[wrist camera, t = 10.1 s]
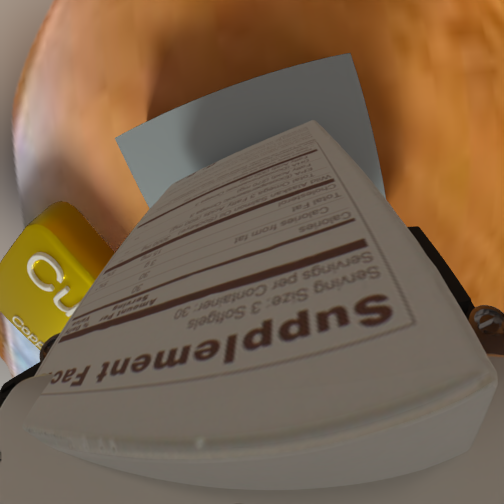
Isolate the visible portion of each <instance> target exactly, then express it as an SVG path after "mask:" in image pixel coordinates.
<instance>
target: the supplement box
mask: <svg viewBox="0 0 504 504" xmlns="http://www.w3.org/2000/svg"><path fill="white" fill-rule="evenodd" d="M42 374H53V375H54V376H53V378H52V379H51V381H50V382H49V384H48V385H47V386H46V388H45V389H44V391H43V392H42V393H41V395H40V396H39V398H38V399H37V400H36V402H35V403H34V405H33V407H32V408H31V410H30V411H29V413H28V415H27V416H26V418H25V419H24V421H23V425H22V427H23V429H24V430H25V431H26V432H28V433H29V434H31V435H32V436H34V437H35V438H37V439H38V440H40V441H41V442H42V443H44V444H46V445H48V446H50V447H52V448H54V449H56V450H58V451H61V452H64V453H66V454H69V455H72V456H75V457H78V458H80V459H83V460H86V461H89V462H93V463H96V464H99V465H102V466H106V467H109V468H113V469H117V470H120V471H124V472H128V473H132V474H137V475H141V476H145V477H150V478H155V479H160V480H165V481H171V482H176V483H183V484H189V485H197V486H205V487H214V488H225V489H243V490H299V489H316V488H328V487H337V486H346V485H354V484H361V483H368V482H373V481H378V480H383V479H388V478H392V477H397V476H401V475H405V474H409V473H413V472H416V471H420V470H423V469H426V468H429V467H432V466H434V465H437V464H439V463H442V462H444V461H447V460H449V459H452V458H454V457H456V456H459V455H461V454H463V453H465V452H467V451H468V450H469V449H470V448H471V447H472V445H473V443H474V441H475V439H476V436H477V434H478V432H479V430H480V428H481V426H482V423H483V421H484V418H485V416H486V413H487V411H488V409H489V406H490V404H491V401H492V399H493V396H494V394H495V391H496V388H497V386H498V378H497V372H496V370H495V368H494V366H493V365H492V363H491V361H490V360H489V358H488V356H487V354H486V352H485V351H484V349H483V347H482V345H481V343H480V341H479V339H478V337H477V336H476V334H475V332H474V330H473V328H472V327H471V325H470V323H469V321H468V320H467V318H466V316H465V314H464V313H463V311H462V309H461V308H460V306H459V304H458V303H457V301H456V299H455V298H454V296H453V294H452V293H451V291H450V290H449V288H448V286H447V285H446V283H445V281H444V279H443V278H442V276H441V274H440V273H439V271H438V270H437V268H436V266H435V265H434V264H433V263H432V261H431V260H430V259H429V257H428V256H427V255H426V254H425V252H424V250H423V249H422V247H421V246H420V244H419V243H418V241H417V240H416V238H415V237H414V236H413V234H412V233H411V232H410V230H409V229H408V228H407V226H406V225H405V224H404V223H403V221H402V220H401V219H400V218H399V216H398V215H397V214H396V212H395V211H394V210H393V208H392V207H391V205H390V204H389V203H388V201H387V200H386V199H385V198H384V196H383V195H382V194H381V192H380V191H379V190H378V189H377V187H376V186H375V185H374V184H373V182H372V181H371V180H370V179H369V178H368V176H367V175H366V174H365V173H364V172H363V170H362V169H361V168H360V167H359V166H358V165H357V164H356V162H355V161H354V160H353V159H352V158H351V157H350V156H349V155H348V154H347V152H346V151H345V150H344V149H343V148H342V147H341V146H340V145H339V144H338V143H337V142H336V141H335V140H334V139H333V138H332V136H331V135H330V134H329V133H328V132H327V131H326V130H325V129H324V128H323V127H322V126H320V125H319V123H318V122H316V121H315V120H311V121H309V122H306V123H304V124H302V125H299V126H297V127H294V128H292V129H290V130H287V131H285V132H282V133H280V134H278V135H275V136H273V137H270V138H268V139H266V140H263V141H261V142H259V143H257V144H254V145H252V146H250V147H247V148H245V149H243V150H241V151H239V152H236V153H234V154H232V155H230V156H228V157H226V158H223V159H221V160H219V161H217V162H215V163H213V164H211V165H209V166H207V167H204V168H202V169H200V170H198V171H196V172H194V173H192V174H190V175H188V176H186V177H184V178H183V179H181V180H179V181H177V182H175V183H173V184H172V185H171V186H170V187H169V188H168V189H167V190H166V191H165V192H164V194H163V195H162V196H161V197H160V198H159V199H158V201H157V202H156V203H155V204H154V205H153V206H152V207H151V208H150V209H149V211H148V212H147V213H146V214H145V215H144V217H143V218H142V219H141V220H140V222H139V223H138V224H137V225H136V227H135V228H134V229H133V230H132V232H131V233H130V234H129V236H128V237H127V238H126V239H125V241H124V242H123V243H122V245H121V246H120V247H119V249H118V250H117V251H116V253H115V254H114V255H113V256H112V258H111V259H110V261H109V262H108V263H107V265H106V266H105V268H104V269H103V270H102V272H101V273H100V275H99V276H98V277H97V279H96V280H95V282H94V283H93V285H92V286H91V287H90V289H89V290H88V292H87V293H86V295H85V296H84V298H83V299H82V301H81V302H80V303H79V305H78V306H77V308H76V310H75V311H74V313H73V314H72V316H71V317H70V319H69V320H68V322H67V323H66V325H65V327H64V328H63V330H62V331H61V333H60V334H59V336H58V338H57V339H56V341H55V342H54V344H53V346H52V347H51V349H50V351H49V352H48V354H47V356H46V357H45V359H44V360H43V362H42V364H41V365H40V367H39V369H38V371H37V372H36V374H35V376H38V375H42Z"/></svg>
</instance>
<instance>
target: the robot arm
mask: <svg viewBox="0 0 504 504" xmlns="http://www.w3.org/2000/svg"><path fill="white" fill-rule="evenodd" d="M407 228H408V229H409V230H410V232H411V233H412V234H413V236H414V237H415V238H416V240H417V241H418V243H419V244H420V246H421V247H422V249H423V250H424V252H425V254H426V255H427V256H428V257H429V259H430V260H431V261H432V263H433V264H434V265H435V266H436V268H437V270H438V271H439V273H440V274H441V276H442V278H443V279H444V281H445V283H446V285H447V286H448V288H449V290H450V291H451V293H452V294H453V296H454V298H455V299H456V301H457V303H458V304H459V306H460V308H461V309H462V311H463V313H464V314H465V316H466V318H467V320H468V321H469V323H470V325H471V327H472V328H473V330H474V332H475V334H476V336H477V337H478V339H479V341H480V343H481V345H482V347H483V349H484V351H485V352H486V354H487V356H488V358H489V360H490V361H491V363H492V365H493V366H494V368H495V370H496V372H497V378H498V386H497V388H496V391H495V394H494V396H493V399H492V401H491V404H490V406H489V409H488V411H487V413H486V416H485V418H484V421H483V423H482V426H481V428H480V430H479V432H478V434H477V436H476V439H475V441H474V443H473V445H472V447H471V448H470V449H469V450H468V451H467V452H465V453H463V454H461V455H459V456H456V457H454V458H452V459H449V460H447V461H444V462H442V463H439V464H437V465H434V466H432V467H429V468H426V469H423V470H420V471H416V472H413V473H409V474H405V475H401V476H397V477H392V478H388V479H383V480H378V481H373V482H368V483H361V484H354V485H346V486H337V487H328V488H316V489H299V490H243V489H225V488H214V487H205V486H197V485H189V484H183V483H176V482H171V481H165V480H160V479H155V478H150V477H145V476H141V475H137V474H132V473H128V472H124V471H120V470H117V469H113V468H109V467H106V466H102V465H99V464H96V463H93V462H89V461H86V460H83V459H80V458H78V457H75V456H72V455H69V454H66V453H64V452H61V451H58V450H56V449H54V448H52V447H50V446H48V445H46V444H44V443H42V442H41V441H40V440H38V439H37V438H35V437H34V436H32V435H31V434H29V433H28V432H26V431H25V430H24V429H23V427H22V425H23V421H24V419H25V418H26V416H27V415H28V413H29V411H30V410H31V408H32V407H33V405H34V403H35V402H36V400H37V399H38V398H39V396H40V395H41V393H42V392H43V391H44V389H45V388H46V386H47V385H48V384H49V382H50V381H51V379H52V378H53V376H54V375H53V374H42V375H38V376H35V374H36V372H37V371H38V369H39V367H40V365H41V364H42V362H43V360H44V359H45V357H46V356H47V354H48V352H49V351H50V349H51V347H52V346H53V344H54V342H55V341H56V339H57V338H58V336H59V334H60V333H58V334H56V335H54V336H52V337H50V338H49V339H48V340H47V341H46V342H45V343H44V345H43V346H42V348H41V350H40V362H39V363H38V364H36V365H34V366H33V367H31V368H29V369H27V370H26V371H24V372H22V373H21V374H19V375H17V376H16V377H14V378H12V379H11V380H9V381H8V382H6V383H5V384H4V385H3V386H2V388H1V390H0V504H504V313H503V312H501V311H500V310H499V309H497V308H495V307H492V306H488V305H481V306H478V307H474V305H473V304H472V302H471V299H470V297H469V296H468V294H467V293H466V291H465V290H464V288H463V287H462V285H461V284H460V282H459V281H458V279H457V278H456V276H455V275H454V273H453V272H452V271H451V269H450V268H449V266H448V265H447V264H446V262H445V261H444V259H443V258H442V257H441V255H440V254H439V253H438V251H437V250H436V248H435V247H434V246H433V244H432V243H431V242H430V241H429V239H428V238H427V237H426V235H425V234H424V233H423V231H422V230H421V229H420V228H419V227H417V226H416V227H407Z"/></svg>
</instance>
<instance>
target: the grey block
mask: <svg viewBox="0 0 504 504" xmlns="http://www.w3.org/2000/svg"><path fill="white" fill-rule="evenodd" d="M311 120H315V121H316V122H318V123H319V125H320V126H322V127H323V128H324V129H325V130H326V131H327V132H328V133H329V134H330V135H331V136H332V138H333V139H334V140H335V141H336V142H337V143H338V144H339V145H340V146H341V147H342V148H343V149H344V150H345V151H346V152H347V154H348V155H349V156H350V157H351V158H352V159H353V160H354V161H355V162H356V164H357V165H358V166H359V167H360V168H361V169H362V170H363V172H364V173H365V174H366V175H367V176H368V178H369V179H370V180H371V181H372V182H373V184H374V185H375V186H376V187H377V189H378V190H379V191H380V192H381V194H382V195H383V196H384V198H385V199H386V196H385V190H384V184H383V179H382V174H381V168H380V163H379V158H378V154H377V149H376V144H375V140H374V136H373V131H372V127H371V123H370V119H369V115H368V111H367V107H366V104H365V100H364V96H363V93H362V89H361V86H360V82H359V79H358V76H357V72H356V69H355V66H354V63H353V60H352V57H351V54H350V53H347V54H342V55H337V56H332V57H327V58H323V59H319V60H315V61H311V62H307V63H303V64H299V65H296V66H292V67H288V68H285V69H281V70H278V71H275V72H271V73H268V74H265V75H262V76H259V77H256V78H253V79H250V80H247V81H244V82H241V83H238V84H235V85H232V86H230V87H227V88H224V89H221V90H219V91H216V92H214V93H211V94H208V95H206V96H203V97H201V98H198V99H196V100H194V101H191V102H189V103H186V104H184V105H182V106H179V107H177V108H175V109H173V110H170V111H168V112H166V113H164V114H162V115H159V116H157V117H155V118H153V119H151V120H149V121H147V122H145V123H143V124H141V125H139V126H137V127H135V128H133V129H131V130H129V131H127V132H125V133H123V134H122V135H120V136H118V137H116V138H115V139H116V142H117V144H118V146H119V148H120V150H121V152H122V154H123V156H124V158H125V160H126V162H127V165H128V167H129V169H130V171H131V173H132V175H133V177H134V179H135V181H136V183H137V185H138V187H139V189H140V191H141V193H142V195H143V197H144V199H145V201H146V202H147V204H148V206H149V208H151V207H152V206H153V205H154V204H155V203H156V202H157V201H158V199H159V198H160V197H161V196H162V195H163V194H164V192H165V191H166V190H167V189H168V188H169V187H170V186H171V185H172V184H173V183H175V182H177V181H179V180H181V179H183V178H184V177H186V176H188V175H190V174H192V173H194V172H196V171H198V170H200V169H202V168H204V167H207V166H209V165H211V164H213V163H215V162H217V161H219V160H221V159H223V158H226V157H228V156H230V155H232V154H234V153H236V152H239V151H241V150H243V149H245V148H247V147H250V146H252V145H254V144H257V143H259V142H261V141H263V140H266V139H268V138H270V137H273V136H275V135H278V134H280V133H282V132H285V131H287V130H290V129H292V128H294V127H297V126H299V125H302V124H304V123H306V122H309V121H311Z"/></svg>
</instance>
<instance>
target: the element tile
mask: <svg viewBox="0 0 504 504" xmlns="http://www.w3.org/2000/svg"><path fill="white" fill-rule="evenodd" d="M114 254H115V253H114V252H113V250H112V249H111V248H110V247H109V246H108V245H107V244H106V242H105V241H104V240H103V239H102V238H101V237H100V236H99V234H98V233H97V232H96V231H95V230H94V229H93V227H92V226H91V225H90V224H89V223H88V221H87V220H86V219H85V218H84V217H83V215H82V214H81V213H80V212H79V211H78V210H77V209H76V208H75V207H74V206H72V205H70V204H69V203H67V202H62V201H60V202H57V203H54V204H52V205H51V206H49V207H48V208H47V209H46V210H45V211H43V212H42V213H41V214H40V215H39V216H38V217H36V218H35V219H34V220H33V221H32V222H31V223H30V224H28V225H27V226H26V228H25V229H24V230H23V232H22V233H21V234H20V235H19V237H18V238H17V240H16V241H15V242H14V244H13V245H12V246H11V248H10V249H9V251H8V252H7V254H6V255H5V256H4V258H3V259H2V261H1V263H0V311H1V312H2V313H3V315H4V316H5V317H6V318H7V319H8V320H9V321H10V322H11V323H12V324H13V325H14V326H15V327H16V328H17V329H18V330H19V331H20V332H21V333H22V334H23V335H24V336H25V337H26V338H27V339H28V340H30V341H31V342H32V343H33V344H34V345H35V346H36V347H37V348H38V349H39V350H41V348H42V346H43V345H44V343H45V342H46V341H47V340H48V339H49V338H50V337H52V336H54V335H56V334H58V333H61V331H62V330H63V328H64V327H65V325H66V323H67V322H68V320H69V319H70V317H71V316H72V314H73V313H74V311H75V310H76V308H77V306H78V305H79V303H80V302H81V301H82V299H83V298H84V296H85V295H86V293H87V292H88V290H89V289H90V287H91V286H92V285H93V283H94V282H95V280H96V279H97V277H98V276H99V275H100V273H101V272H102V270H103V269H104V268H105V266H106V265H107V263H108V262H109V261H110V259H111V258H112V256H113V255H114Z"/></svg>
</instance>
